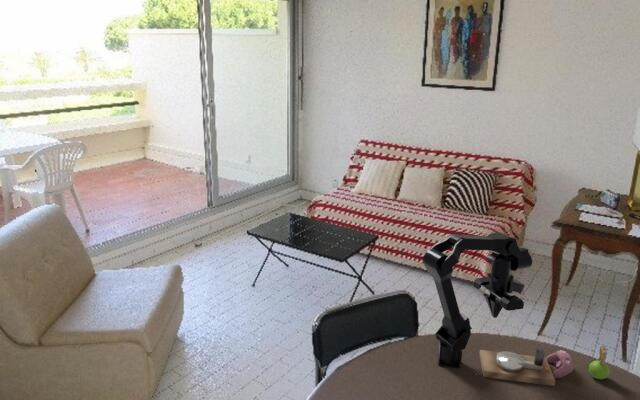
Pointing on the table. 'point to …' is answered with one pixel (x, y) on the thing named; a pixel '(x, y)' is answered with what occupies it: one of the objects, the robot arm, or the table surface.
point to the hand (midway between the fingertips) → (494, 317)
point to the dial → (519, 361)
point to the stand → (525, 375)
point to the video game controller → (561, 363)
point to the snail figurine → (600, 365)
